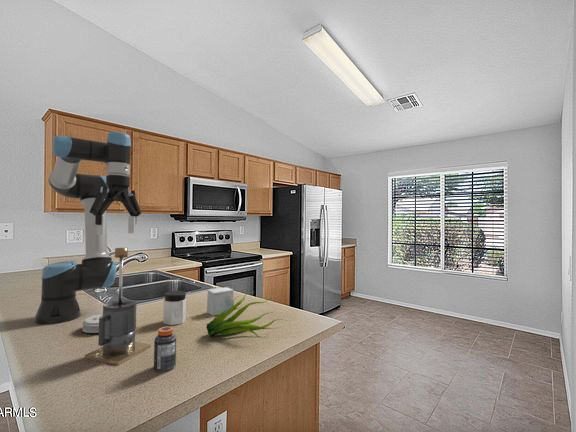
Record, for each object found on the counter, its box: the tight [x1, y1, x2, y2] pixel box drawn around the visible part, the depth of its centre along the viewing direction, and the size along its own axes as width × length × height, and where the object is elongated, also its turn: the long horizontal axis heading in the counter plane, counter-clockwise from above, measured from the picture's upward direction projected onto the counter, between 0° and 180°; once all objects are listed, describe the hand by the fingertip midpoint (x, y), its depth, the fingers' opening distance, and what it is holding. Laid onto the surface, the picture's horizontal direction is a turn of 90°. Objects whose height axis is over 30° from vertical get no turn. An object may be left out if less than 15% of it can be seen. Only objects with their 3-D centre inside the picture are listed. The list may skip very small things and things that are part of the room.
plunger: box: [114, 247, 129, 305], centre depth 97 cm, size 4×4×18 cm
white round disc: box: [81, 313, 103, 334], centre depth 117 cm, size 13×13×5 cm
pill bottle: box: [153, 326, 177, 373], centre depth 88 cm, size 6×6×11 cm
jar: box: [162, 290, 187, 326], centre depth 126 cm, size 9×8×12 cm
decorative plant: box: [206, 291, 289, 338], centre depth 117 cm, size 18×30×15 cm, turn 87°
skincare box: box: [206, 287, 234, 317], centre depth 140 cm, size 10×6×10 cm, turn 131°
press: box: [84, 299, 151, 366], centre depth 97 cm, size 13×14×16 cm
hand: (117, 234), depth 110 cm, fingers open, 13 cm apart
